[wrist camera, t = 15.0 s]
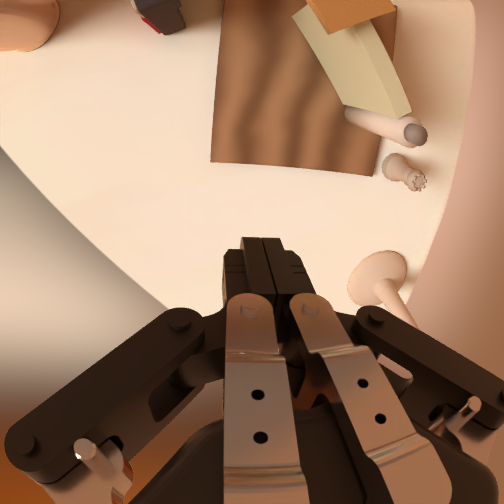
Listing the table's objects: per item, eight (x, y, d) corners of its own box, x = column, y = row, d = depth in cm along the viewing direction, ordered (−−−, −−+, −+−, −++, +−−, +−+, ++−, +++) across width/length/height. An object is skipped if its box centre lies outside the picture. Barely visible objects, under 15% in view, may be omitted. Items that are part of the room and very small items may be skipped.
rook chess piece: (404, 152, 42) (433, 167, 36) (402, 178, 45) (429, 197, 38) (381, 152, 42) (409, 167, 35) (379, 179, 44) (405, 198, 38)
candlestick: (399, 296, 59) (470, 409, 33) (345, 310, 59) (405, 441, 33) (409, 245, 52) (505, 362, 27) (348, 257, 52) (433, 400, 26)
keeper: (285, 51, 33) (333, 33, 18) (265, 21, 31) (300, -17, 16) (328, 31, 32) (396, 10, 17) (309, 2, 29) (367, -36, 15)
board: (210, 160, 40) (210, 162, 39) (228, -30, 26) (229, -33, 25) (368, 174, 44) (372, 176, 43) (393, 7, 29) (397, 6, 28)
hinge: (368, 118, 38) (435, 143, 25) (350, 128, 38) (412, 157, 25) (308, 9, 29) (359, -23, 16) (287, 18, 30) (329, -14, 16)
